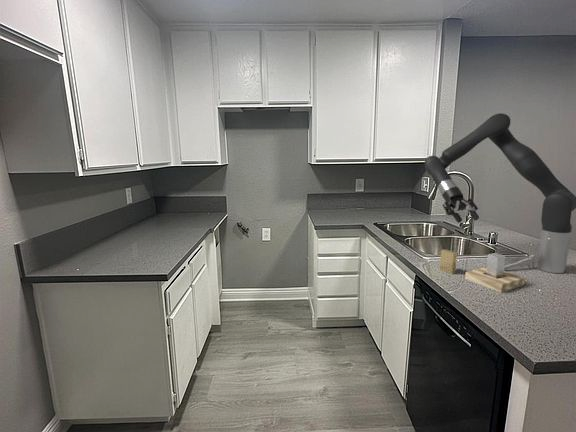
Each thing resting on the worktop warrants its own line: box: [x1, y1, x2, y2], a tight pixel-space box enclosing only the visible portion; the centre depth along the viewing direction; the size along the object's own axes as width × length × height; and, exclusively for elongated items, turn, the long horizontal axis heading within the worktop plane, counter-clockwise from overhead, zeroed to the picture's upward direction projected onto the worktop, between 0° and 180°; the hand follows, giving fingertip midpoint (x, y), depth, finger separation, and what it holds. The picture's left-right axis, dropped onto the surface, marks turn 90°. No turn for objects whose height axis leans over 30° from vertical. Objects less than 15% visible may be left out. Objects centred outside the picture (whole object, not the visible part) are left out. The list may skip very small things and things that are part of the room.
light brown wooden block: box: [439, 249, 458, 275], centre depth 131 cm, size 2×6×9 cm, turn 24°
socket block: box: [464, 266, 526, 293], centre depth 120 cm, size 14×14×3 cm
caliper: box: [504, 254, 537, 271], centre depth 131 cm, size 20×1×6 cm, turn 100°
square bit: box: [486, 252, 506, 279], centre depth 119 cm, size 4×4×11 cm
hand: (468, 220), depth 132 cm, fingers open, 8 cm apart
